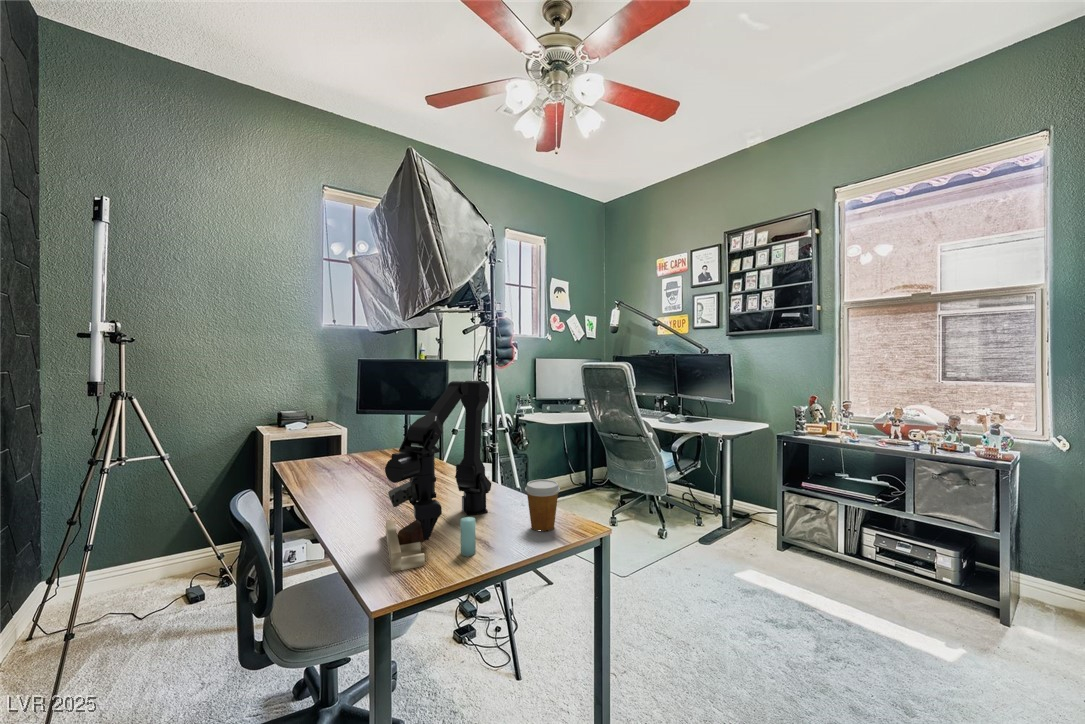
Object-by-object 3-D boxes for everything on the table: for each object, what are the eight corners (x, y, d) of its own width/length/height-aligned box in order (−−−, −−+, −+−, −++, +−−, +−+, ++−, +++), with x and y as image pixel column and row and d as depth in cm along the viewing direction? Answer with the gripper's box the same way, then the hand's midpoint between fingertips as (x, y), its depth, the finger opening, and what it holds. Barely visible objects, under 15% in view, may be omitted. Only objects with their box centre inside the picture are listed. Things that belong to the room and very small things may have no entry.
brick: (411, 552, 105) (411, 532, 105) (397, 550, 106) (396, 531, 106) (433, 535, 116) (433, 517, 116) (419, 533, 117) (419, 516, 117)
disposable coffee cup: (529, 520, 126) (529, 478, 126) (562, 522, 124) (562, 479, 124) (521, 533, 116) (521, 488, 116) (557, 535, 115) (557, 489, 114)
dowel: (473, 548, 107) (473, 516, 107) (477, 554, 104) (476, 521, 103) (459, 551, 105) (459, 518, 105) (462, 557, 102) (462, 523, 102)
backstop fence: (413, 531, 118) (413, 516, 118) (424, 565, 98) (424, 548, 98) (385, 535, 115) (385, 520, 115) (391, 571, 95) (391, 553, 95)
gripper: (387, 467, 118) (388, 525, 118) (392, 486, 101) (393, 553, 101) (430, 463, 122) (430, 519, 122) (441, 480, 105) (442, 545, 105)
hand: (423, 533), depth 113 cm, fingers open, 9 cm apart
